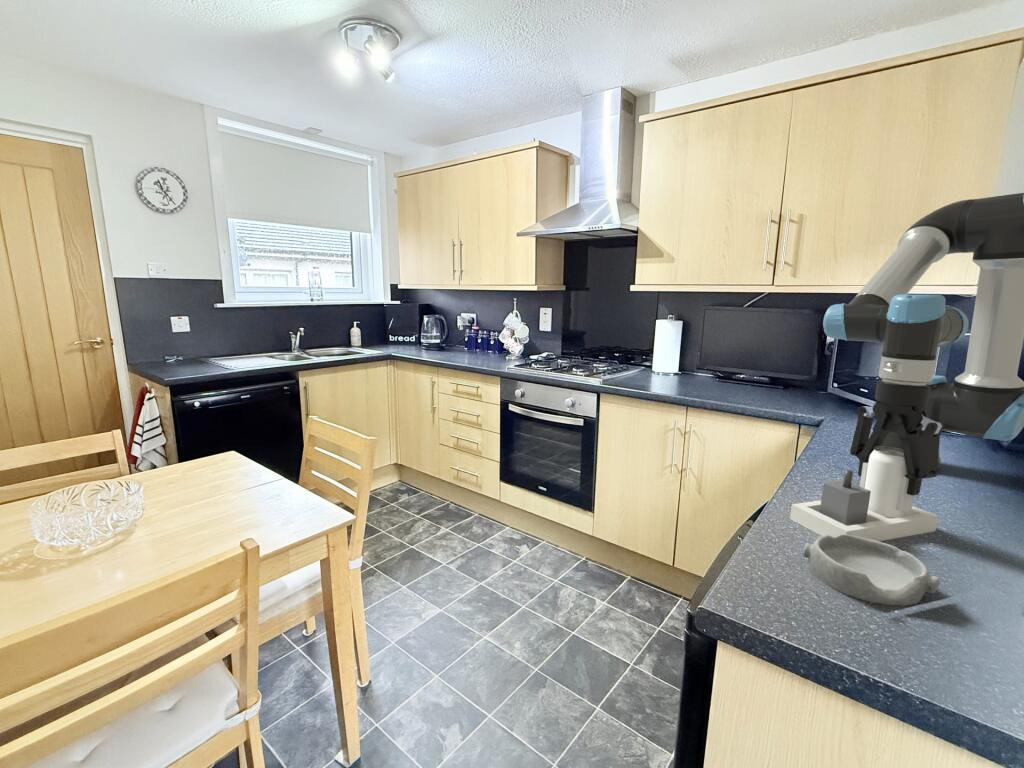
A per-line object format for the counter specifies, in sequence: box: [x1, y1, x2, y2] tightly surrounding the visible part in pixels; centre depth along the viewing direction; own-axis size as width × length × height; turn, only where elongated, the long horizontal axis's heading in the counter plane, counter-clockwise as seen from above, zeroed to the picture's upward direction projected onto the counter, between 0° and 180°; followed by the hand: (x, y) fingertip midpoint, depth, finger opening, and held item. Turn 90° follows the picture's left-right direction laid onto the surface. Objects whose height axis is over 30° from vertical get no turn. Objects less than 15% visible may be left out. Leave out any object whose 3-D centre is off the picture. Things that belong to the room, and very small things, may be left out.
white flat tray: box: [789, 500, 939, 542], centre depth 89 cm, size 22×11×4 cm, turn 107°
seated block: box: [820, 469, 871, 526], centre depth 87 cm, size 5×5×11 cm
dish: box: [802, 534, 940, 606], centre depth 72 cm, size 14×14×5 cm
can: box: [864, 446, 908, 518], centre depth 89 cm, size 6×6×12 cm
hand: (883, 501), depth 90 cm, fingers closed on can, 6 cm apart
